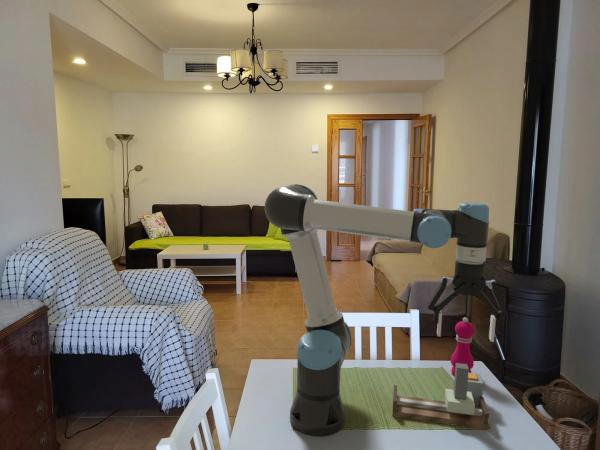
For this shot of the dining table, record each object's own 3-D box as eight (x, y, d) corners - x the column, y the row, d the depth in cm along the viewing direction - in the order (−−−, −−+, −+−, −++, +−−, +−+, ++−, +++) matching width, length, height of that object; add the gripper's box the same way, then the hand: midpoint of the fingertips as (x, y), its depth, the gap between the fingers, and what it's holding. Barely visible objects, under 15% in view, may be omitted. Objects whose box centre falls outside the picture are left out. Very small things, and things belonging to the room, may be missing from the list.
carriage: (447, 411, 121) (450, 370, 119) (444, 398, 127) (447, 359, 126) (474, 415, 119) (477, 373, 117) (470, 401, 126) (473, 362, 124)
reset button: (464, 396, 130) (466, 377, 129) (463, 391, 132) (465, 372, 132) (475, 398, 129) (477, 378, 128) (474, 392, 132) (475, 374, 131)
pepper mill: (474, 380, 144) (479, 322, 141) (451, 378, 146) (455, 320, 143) (470, 370, 151) (475, 314, 148) (448, 368, 153) (452, 312, 150)
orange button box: (459, 406, 129) (461, 380, 128) (457, 396, 135) (458, 371, 133) (481, 409, 127) (483, 383, 126) (477, 398, 133) (480, 373, 132)
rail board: (392, 415, 123) (393, 400, 123) (393, 399, 132) (393, 385, 131) (487, 429, 118) (489, 414, 117) (481, 411, 126) (483, 396, 126)
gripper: (422, 261, 116) (417, 337, 119) (525, 267, 111) (517, 347, 114) (421, 255, 124) (417, 327, 127) (517, 261, 118) (510, 336, 121)
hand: (464, 337), depth 120 cm, fingers open, 13 cm apart
